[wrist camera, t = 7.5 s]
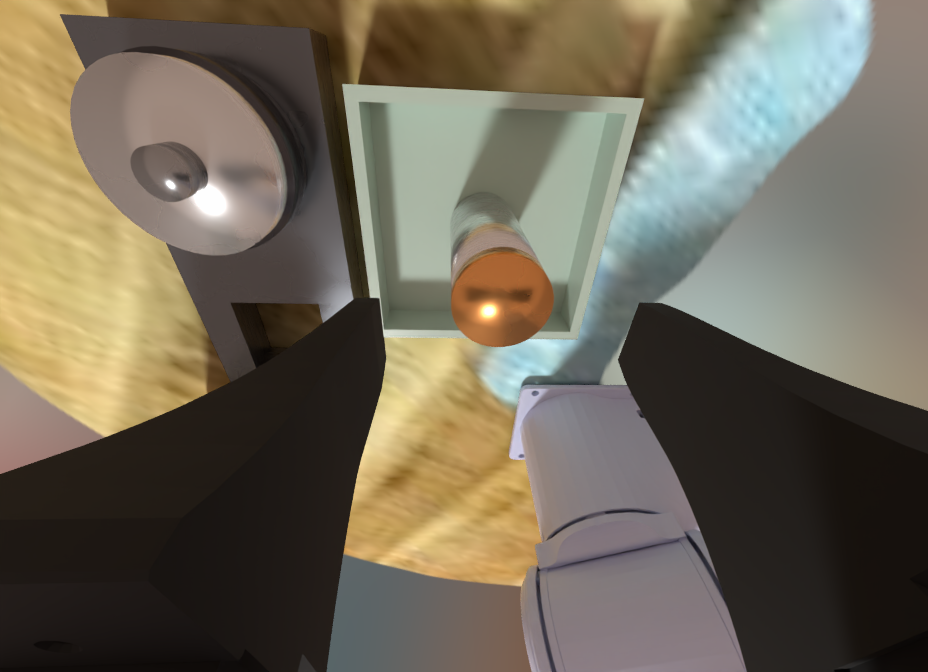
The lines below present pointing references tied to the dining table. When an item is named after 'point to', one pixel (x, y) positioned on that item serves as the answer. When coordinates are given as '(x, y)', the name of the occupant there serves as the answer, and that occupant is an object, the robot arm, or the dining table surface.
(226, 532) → the robot arm
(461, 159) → the tray
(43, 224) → the dining table surface
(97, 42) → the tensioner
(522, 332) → the glass vial
